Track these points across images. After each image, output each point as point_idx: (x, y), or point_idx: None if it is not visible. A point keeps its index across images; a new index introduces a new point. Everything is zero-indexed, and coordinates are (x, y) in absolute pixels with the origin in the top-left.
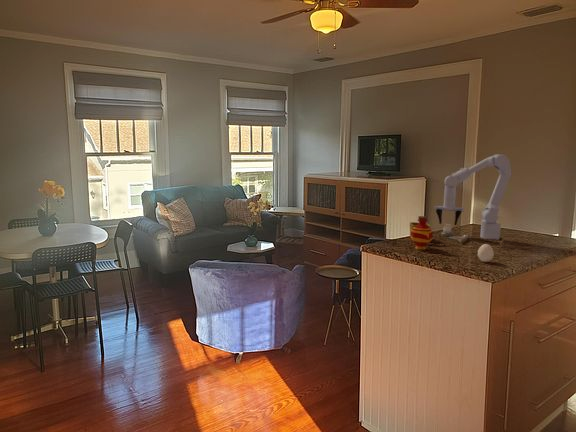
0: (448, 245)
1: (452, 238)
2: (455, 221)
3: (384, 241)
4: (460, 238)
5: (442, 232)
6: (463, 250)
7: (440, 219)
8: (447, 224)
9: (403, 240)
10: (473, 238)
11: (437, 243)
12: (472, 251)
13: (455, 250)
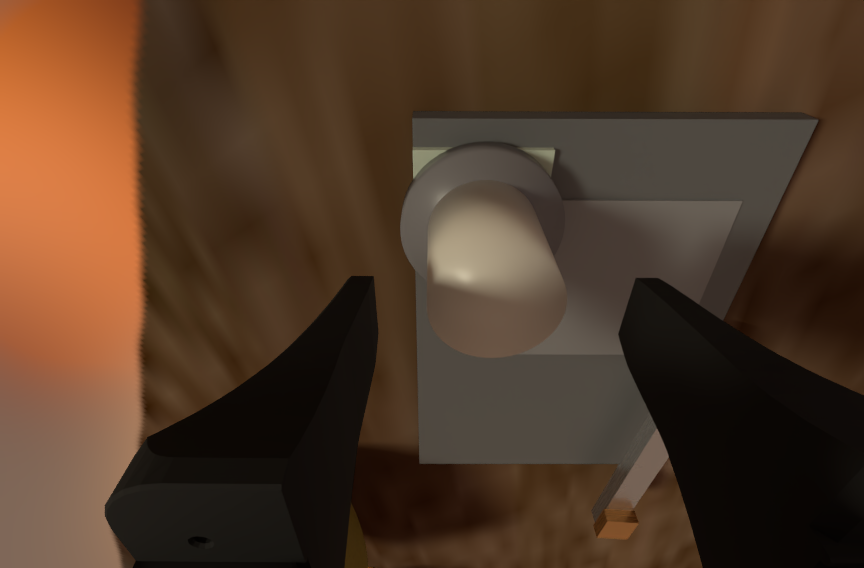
0: (519, 491)
1: (550, 353)
2: (652, 396)
3: (122, 550)
4: (619, 533)
5: (418, 232)
6: (610, 544)
7: (362, 408)
8: (491, 297)
9: None
10: (841, 104)
11: (437, 476)
12: (662, 543)
13: (563, 557)
